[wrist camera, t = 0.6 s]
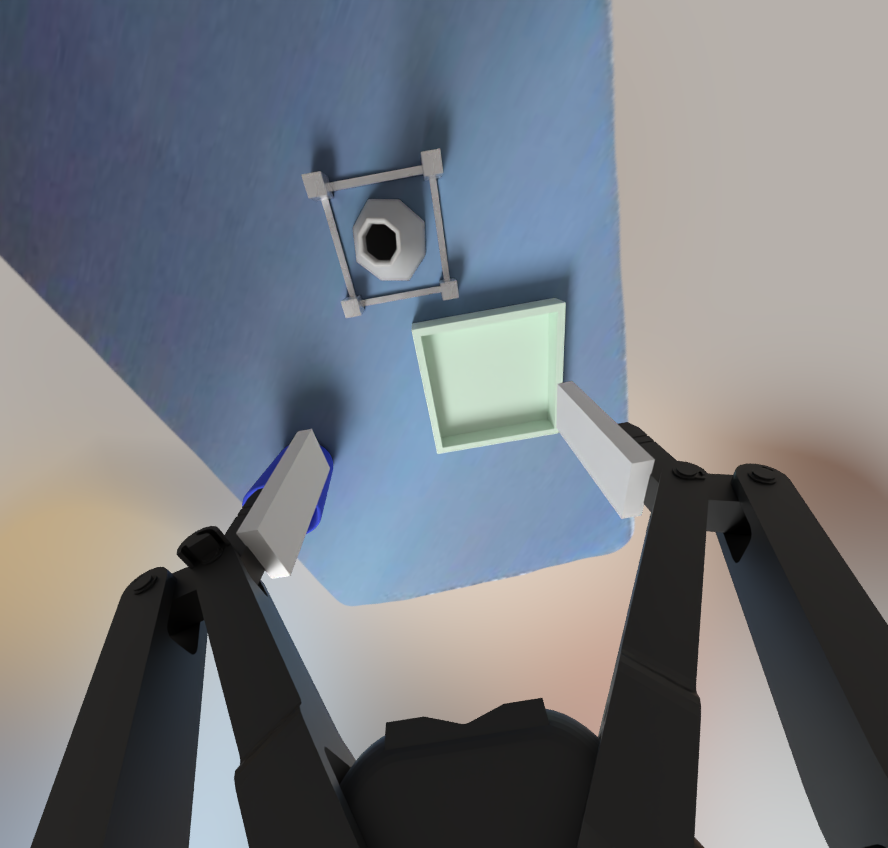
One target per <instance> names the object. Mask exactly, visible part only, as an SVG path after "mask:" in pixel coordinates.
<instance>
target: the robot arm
mask: <svg viewBox="0 0 888 848" xmlns="http://www.w3.org/2000/svg"><path fill="white" fill-rule="evenodd" d="M556 428H557V429H558V431H559V432H560V434H561V435H562V436H563V438H564V439H565V441H566V442H567V443H568V445H569V446H570V448H571V449H572V450H573V452H574V453H575V454H576V456H577V457H578V459H579V460H580V461H581V463H582V464H583V466H584V467H585V468H586V470H587V471H588V473H589V474H590V475H591V477H592V478H593V480H594V481H595V482H596V484H597V485H598V487H599V488H600V489H601V491H602V492H603V494H604V495H605V496H606V498H607V499H608V501H609V502H610V503H611V505H612V506H613V508H614V509H615V510H616V512H617V513H618V514H619V516H620V517H621V519H623V518H629V517H635V516H640V515H642V511H643V507H644V504H645V506H646V507H647V508H648V509H649V510H650V512H651V515H650V519H649V522H648V526H647V530H646V536H645V540H644V544H643V549H642V553H641V557H640V562H639V566H638V570H637V574H636V579H635V583H634V587H633V591H632V596H631V600H630V604H629V609H628V613H627V617H626V621H625V626H624V630H623V634H622V639H621V643H620V647H619V652H618V656H617V660H616V664H615V669H614V673H613V677H612V681H611V686H610V691H609V694H608V698H607V702H606V706H605V710H604V714H603V718H602V722H601V727H600V731H599V736H598V737H597V736H596V735H595V734H594V733H592V732H591V731H590V730H589V729H588V728H586V727H585V726H584V725H582V724H581V723H579V722H578V721H576V720H575V719H573V718H571V717H569V716H567V715H565V714H562V713H559V712H557V711H554V710H549V709H545V706H544V702H543V699H542V698H538V699H532V700H525V701H519V702H513V703H507V704H503V705H501V706H499V707H498V708H495V709H494V710H492V711H490V712H488V713H486V714H484V715H482V716H480V717H479V718H477V719H475V720H473V721H471V722H469V723H467V724H458V723H454V722H449V721H444V720H439V719H433V718H428V717H419V718H412V719H406V720H400V721H393V722H387V723H386V732H385V736H383V737H381V738H380V739H379V740H377V741H376V742H375V743H373V744H372V745H371V746H370V747H369V748H368V749H367V750H366V751H365V752H363V753H362V754H361V756H360V757H359V758H358V759H357V760H355V758H354V757H353V755H352V754H351V752H350V751H349V749H348V748H347V746H346V745H345V743H344V742H343V740H342V738H341V737H340V735H339V733H338V731H337V729H336V727H335V725H334V723H333V721H332V719H331V717H330V715H329V713H328V711H327V709H326V707H325V705H324V703H323V701H322V699H321V697H320V695H319V693H318V691H317V689H316V687H315V685H314V683H313V681H312V679H311V677H310V675H309V673H308V671H307V669H306V667H305V665H304V663H303V661H302V659H301V657H300V655H299V653H298V651H297V649H296V647H295V645H294V643H293V641H292V639H291V637H290V635H289V633H288V631H287V629H286V627H285V625H284V623H283V621H282V619H281V617H280V615H279V613H278V611H277V609H276V607H275V605H274V603H273V601H272V599H271V597H270V595H269V593H268V591H267V589H266V587H265V585H264V583H263V582H262V581H261V580H260V579H261V577H262V575H263V573H264V571H266V572H267V574H268V575H269V576H270V577H271V579H274V578H280V577H285V576H291V573H292V570H293V567H294V565H295V562H296V559H297V557H298V554H299V551H300V549H301V546H302V543H303V540H304V538H305V535H306V532H307V530H308V527H309V524H310V522H311V519H312V516H313V514H314V511H315V508H316V505H317V503H318V500H319V497H320V495H321V492H322V489H323V487H324V484H325V481H326V478H327V476H328V473H329V470H330V467H329V465H328V463H327V461H326V458H325V456H324V454H323V452H322V450H321V448H320V446H319V443H318V441H317V439H316V437H315V435H314V433H313V430H312V429H308V430H303V431H298V432H297V433H296V435H295V437H294V438H293V440H292V442H291V443H290V445H289V447H288V448H287V450H286V452H285V453H284V455H283V456H282V458H281V460H280V461H279V463H278V465H277V466H276V468H275V470H274V471H273V473H272V475H271V476H270V478H269V480H268V481H267V483H266V485H265V486H264V488H261V489H257V490H256V491H255V492H254V493H253V494H252V495H251V496H250V497H249V498H248V499H247V501H246V502H245V504H244V505H243V507H242V509H241V510H240V512H239V513H238V517H236V518H235V520H234V521H233V523H232V524H231V526H230V527H229V529H228V530H227V532H226V534H225V535H224V534H223V533H222V532H221V531H220V529H219V528H218V527H216V526H210V527H205V528H202V529H201V530H198V531H197V532H195V533H193V534H192V535H190V536H189V537H188V538H186V539H185V540H184V541H183V542H182V543H181V545H180V546H179V548H178V549H177V555H178V557H179V558H180V559H182V561H183V562H184V563H185V564H186V565H187V566H188V567H187V568H184V569H182V570H179V571H177V572H175V573H171V572H169V571H168V570H167V569H166V568H164V567H157V568H154V569H151V570H149V571H147V572H145V573H143V574H142V575H140V576H139V577H138V578H136V579H135V580H134V581H133V582H131V584H130V585H129V586H128V587H127V588H126V589H125V591H124V592H123V594H122V596H121V599H120V601H119V604H118V607H117V610H116V612H115V615H114V618H113V621H112V623H111V626H110V629H109V632H108V635H107V637H106V640H105V643H104V646H103V648H102V651H101V654H100V657H99V660H98V663H97V665H96V668H95V671H94V673H93V676H92V679H91V682H90V684H89V687H88V690H87V693H86V695H85V698H84V701H83V704H82V707H81V709H80V712H79V715H78V718H77V721H76V723H75V726H74V729H73V731H72V734H71V737H70V740H69V742H68V745H67V748H66V751H65V754H64V756H63V759H62V762H61V765H60V767H59V771H58V773H57V776H56V778H55V781H54V784H53V787H52V790H51V792H50V795H49V798H48V801H47V804H46V806H45V809H44V812H43V815H42V817H41V820H40V823H39V826H38V828H37V831H36V834H35V837H34V839H33V842H32V845H31V848H189V837H190V825H191V815H192V803H193V792H194V781H195V769H196V757H197V746H198V735H199V724H200V712H201V701H202V690H203V679H204V667H205V654H206V644H207V633H208V636H209V640H210V644H211V647H212V651H213V655H214V659H215V663H216V667H217V670H218V674H219V678H220V682H221V686H222V690H223V693H224V697H225V701H226V705H227V709H228V713H229V716H230V720H231V724H232V728H233V732H234V736H235V739H236V743H237V747H238V751H239V755H240V766H239V767H238V768H237V769H236V771H235V776H234V780H235V788H236V793H237V798H238V802H239V806H240V810H241V815H242V819H243V823H244V827H245V832H246V836H247V839H248V844H249V848H704V847H703V846H702V845H701V844H700V843H699V841H698V840H697V839H696V838H695V837H694V834H695V816H696V797H697V779H698V759H699V742H700V723H701V703H700V698H699V696H698V694H697V692H696V676H697V662H698V645H699V631H700V617H701V602H702V587H703V572H704V557H705V543H706V542H705V541H706V531H711V532H716V535H717V537H718V540H719V543H720V546H721V549H722V552H723V555H724V558H725V561H726V563H727V566H728V569H729V572H730V575H731V578H732V581H733V583H734V587H735V590H736V592H737V595H738V598H739V601H740V604H741V607H742V610H743V613H744V616H745V618H746V621H747V624H748V627H749V630H750V633H751V635H752V639H753V641H754V644H755V647H756V650H757V653H758V656H759V659H760V662H761V664H762V668H763V671H764V673H765V676H766V679H767V682H768V685H769V688H770V691H771V694H772V696H773V699H774V702H775V705H776V708H777V711H778V714H779V717H780V720H781V723H782V725H783V728H784V731H785V734H786V737H787V740H788V743H789V746H790V749H791V751H792V754H793V757H794V760H795V763H796V766H797V769H798V772H799V775H800V777H801V780H802V783H803V786H804V789H805V792H806V794H807V797H808V799H809V802H810V804H811V807H812V809H813V812H814V815H815V817H816V820H817V822H818V825H819V827H820V829H821V831H822V833H823V835H824V838H825V840H826V842H827V844H828V846H829V848H888V625H887V623H886V622H885V620H884V619H883V617H882V616H881V614H880V613H879V611H878V610H877V608H876V607H875V606H874V604H873V602H872V601H871V599H870V598H869V596H868V595H867V594H866V592H865V590H864V589H863V587H862V586H861V584H860V583H859V582H858V580H857V579H856V577H855V576H854V574H853V573H852V571H851V570H850V568H849V567H848V565H847V564H846V562H845V561H844V559H843V558H842V556H841V555H840V553H839V552H838V550H837V549H836V547H835V546H834V544H833V543H832V541H831V540H830V538H829V537H828V536H827V534H826V533H825V531H824V530H823V528H822V527H821V525H820V524H819V522H818V521H817V519H816V518H815V516H814V515H813V513H812V512H811V510H810V509H809V507H808V506H807V504H806V503H805V501H804V500H803V498H802V497H801V495H800V494H799V493H798V491H797V490H796V488H795V486H794V485H793V484H792V482H791V481H790V479H789V478H788V477H787V476H786V475H785V474H783V473H781V472H780V471H778V470H776V469H774V468H771V467H768V466H765V465H759V464H743V465H740V466H738V467H737V468H736V470H735V472H734V474H733V475H724V474H708V473H707V472H706V471H705V470H704V469H702V468H701V467H699V466H697V465H694V464H692V463H688V462H682V461H677V460H676V459H674V458H673V457H672V456H671V455H670V454H669V453H667V452H666V451H665V450H664V449H663V448H662V447H661V446H660V445H658V444H657V443H656V442H654V441H653V439H651V438H650V437H649V436H647V434H646V433H645V432H643V431H642V430H641V429H640V428H639V427H637V426H634V425H632V424H630V423H628V422H625V423H619V424H617V423H616V422H615V421H614V420H613V419H612V418H610V417H609V416H608V415H607V414H606V413H605V412H604V411H603V410H602V409H601V408H600V407H599V406H598V405H597V404H596V403H595V402H594V401H593V400H592V399H591V398H589V397H588V396H587V395H586V394H585V393H584V392H583V391H582V390H581V389H580V388H579V387H578V386H577V385H576V384H575V383H574V382H573V381H570V382H564V383H559V384H558V385H557V423H556Z"/></svg>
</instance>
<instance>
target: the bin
mask: <svg viewBox="0 0 888 848" xmlns="http://www.w3.org/2000/svg"><path fill="white" fill-rule="evenodd" d="M565 307H566V302H564V301H561V300H559V299H556V298H551V299H545V300H539V301H534V302H528V303H523V304H517V305H512V306H506V307H501V308H495V309H489V310H484V311H478V312H473V313H467V314H462V315H456V316H451V317H445V318H439V319H434V320H428V321H423V322H417V323H412V335H413V339H414V344H415V349H416V354H417V358H418V363H419V368H420V373H421V378H422V382H423V387H424V392H425V397H426V401H427V406H428V411H429V416H430V420H431V425H432V430H433V435H434V440H435V444H436V449H437V454H440V453H446V452H452V451H458V450H463V449H469V448H475V447H481V446H487V445H493V444H498V443H504V442H510V441H516V440H522V439H527V438H533V437H539V436H545V435H551V434H557V433H560V432H559V431H558V429H557V428H556V423H557V385H558V384H559V383H563V358H564V332H565Z"/></svg>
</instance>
